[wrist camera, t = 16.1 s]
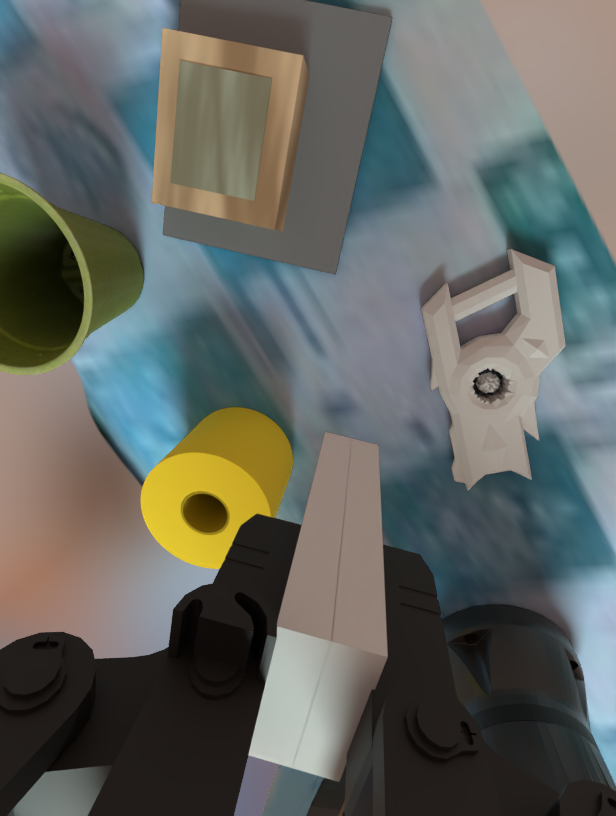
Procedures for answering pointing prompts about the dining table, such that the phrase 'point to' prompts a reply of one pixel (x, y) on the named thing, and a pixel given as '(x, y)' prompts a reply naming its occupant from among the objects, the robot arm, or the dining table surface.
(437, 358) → the light grey toy spaceship
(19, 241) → the plant pot
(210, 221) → the mat
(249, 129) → the rectangular block
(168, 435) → the dining table surface
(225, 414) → the yellow paper roll
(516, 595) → the dining table surface
